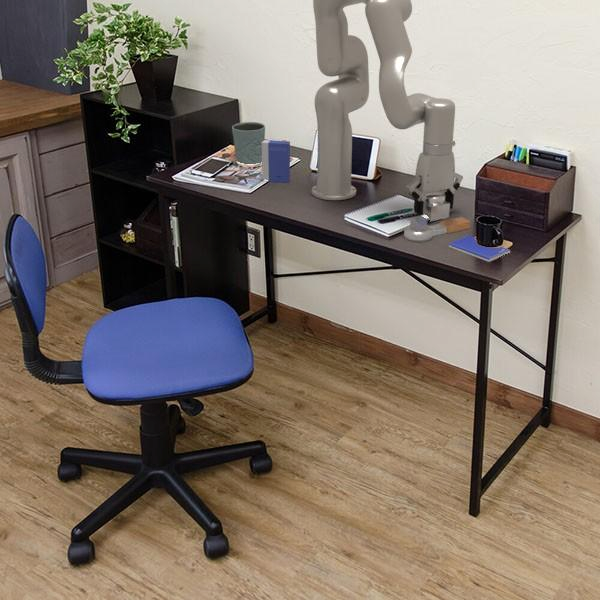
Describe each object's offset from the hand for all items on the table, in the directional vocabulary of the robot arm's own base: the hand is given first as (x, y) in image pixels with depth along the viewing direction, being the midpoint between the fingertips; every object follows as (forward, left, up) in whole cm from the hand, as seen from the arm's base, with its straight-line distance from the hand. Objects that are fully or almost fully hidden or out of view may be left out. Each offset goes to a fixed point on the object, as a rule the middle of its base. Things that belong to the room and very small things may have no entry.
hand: (433, 210), depth 245 cm
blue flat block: (+24, -4, -2) cm, 25 cm away
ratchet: (+10, -6, -2) cm, 12 cm away
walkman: (-46, -23, -2) cm, 51 cm away
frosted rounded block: (0, 0, -2) cm, 2 cm away
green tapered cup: (-64, -23, -2) cm, 68 cm away
